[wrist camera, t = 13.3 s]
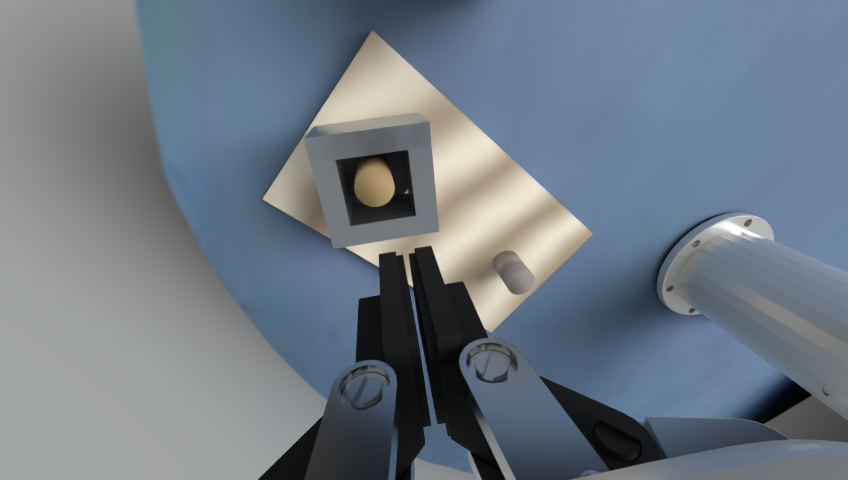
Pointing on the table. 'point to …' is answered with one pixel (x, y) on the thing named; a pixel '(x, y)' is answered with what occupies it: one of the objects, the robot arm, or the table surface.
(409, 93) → the stand board
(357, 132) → the collar
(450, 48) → the table surface
